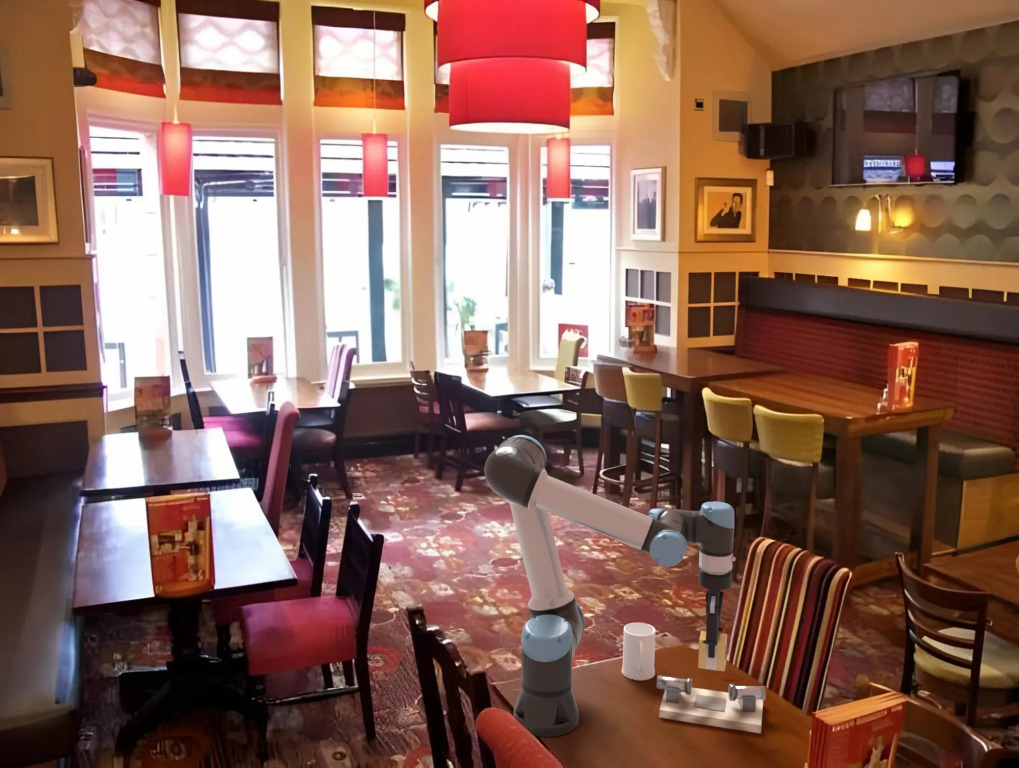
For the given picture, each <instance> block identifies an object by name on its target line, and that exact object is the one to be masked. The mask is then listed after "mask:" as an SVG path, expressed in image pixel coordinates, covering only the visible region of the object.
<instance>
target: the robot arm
mask: <svg viewBox="0 0 1019 768" xmlns="http://www.w3.org/2000/svg"><path fill="white" fill-rule="evenodd" d="M546 467H547V453H546V451H545V448H544V447H543V445H542V444H541V443H540V442H539V441H538V440H537V439H535V438H534V437H532V436H528V435H525V434H519V435H513V436H512V437H508V438H507V439H505V440H503V441H502V443H500V444H499V446H498V447H497V448H496V449H494V450H493V451H492V452H491V453H489V455H488V457H487V459H486V460H485V464H484V471H483V472H484V478H485V481H486V483H487V485H488V487H489V488H490V489H491V490H492V491H493V492H494V493H495V494H496V495H498V496H499V497H501V499H502V500H503V501H505V503H508V504H509V507H510V510H511V515H512V518H513V523H514V526H515V530H516V531H515V532H516V535H517V540H518V544H519V548H520V552H521V557H522V560H523V565H524V567H525V572H526V573H525V574H526V577H527V580H528V581H527V582H528V585H529V589H530V592H531V597H530V600H529V601H528V603H527V606H528V611H529V614H530V619H529V620H528V621H526V622H525V623H524V625H523V627H522V630H521V631H522V632H521V636H520V645H521V646H520V647H521V665H520V666H521V672H520V673H521V682H520V683H521V686H520V687H521V688H520V691H519V694H518V696H517V698H516V702H515V705H514V708H513V717H514V716H515V718H517V719H518V720H519V721H520V722H521V723H522V724H523V725H524V726H525V727H526V728H527V729H529V730H530V731H531V732H532V733H533V734H534V735H533V736H537V737H545V738H546V737H547V738H548V737H550V738H551V737H558V736H559V737H560V736H562V735H563V736H564V735H566V734H568V733H570V732H572V731H573V730H575V729H576V728H577V727H578V725H579V718H580V716H579V715H580V714H579V708H578V705H577V702H576V698H575V695H574V692H573V690H572V681H573V680H572V679H573V678H572V677H573V658H574V656H575V653H576V651H577V647H578V646H579V643H580V641H581V639H582V638H583V635H584V632H585V623H586V621H585V620H586V619H585V614H584V611H583V609H582V608H581V606H580V605H579V603H578V602H577V601H576V595H575V594H574V592H573V591H571V590H570V589H568V588H567V586H566V581H565V578H564V572H563V567H562V564H561V560H560V557H559V552H558V546H557V543H556V539H555V535H554V531H553V526H552V523H551V518H550V514H552V515H555V516H557V517H559V518H561V519H564V520H567V521H569V522H572V523H574V524H576V525H579V526H581V527H584V528H587V529H588V530H591V531H593V532H596V533H598V534H600V535H603V536H606V537H608V538H611V539H613V540H615V541H618V542H620V543H623V544H624V545H628V546H629V547H632V548H634V549H637V550H640V551H642V552H644V553H645V554H649V555H650V557H651V558H652V559H653V560H654V562H655V563H656V564H657V565H660V566H663V567H668V568H669V567H674V566H676V565H678V564H679V563H681V561H682V560H683V559H684V558H685V555H686V553H687V550H688V548H687V547H688V544H693V545H695V544H696V545H697V544H698V545H699V556H698V566H699V570H698V584H699V586H700V587H702V588H703V589H706V594H705V595H704V596H705V598H704V599H705V600H704V601H705V613H706V623H705V624H706V625H705V627H706V629H705V631H706V640H703V643H705V644H706V655H705V669H704V670H709V671H718V670H717V660H718V641H717V639H718V633H724V627H721V624H722V621H721V619H722V618H721V617H722V609H723V603H724V596H725V592H724V591H726V590H729V589H730V588H731V587H732V585H733V571H732V570H733V562H735V561H736V559H737V558H736V557H735V556H734V542H735V541H734V540H735V537H734V536H735V510H734V507H733V506H732V505H730V504H729V503H726V502H722V501H715V500H714V501H706V502H704V503H702V504H701V508H700V510H689V509H688V510H686V509H672V508H667V507H663V508H651V509H650V510H649V512H648V515H646V514H643V513H641V512H639V511H637V510H634V509H632V508H630V507H626V506H624V505H622V504H619V503H616V502H615V501H612V500H609V499H606V498H604V497H601V496H599V495H597V494H594V493H592V492H589V491H588V490H584V489H583V488H580V487H578V486H576V485H573V484H570V483H568V482H565V481H563V480H561V479H558V478H556V477H553V476H550V475H549V474H548V472H547V470H546Z"/></svg>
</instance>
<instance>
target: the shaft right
mask: <svg viewBox="0 0 1019 768" xmlns="http://www.w3.org/2000/svg"><path fill="white" fill-rule="evenodd" d="M727 693H728V694H729V700H730V701H735V700H736V699H738V703H739V705H740V708H741V710H742V712H755V709H756V700H763V701H765V700H766V698H767V691H766V687H765V685H764V686H763V685H762V686H760V685H759V686H754V685H735V683H729V684H728V692H727Z"/></svg>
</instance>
